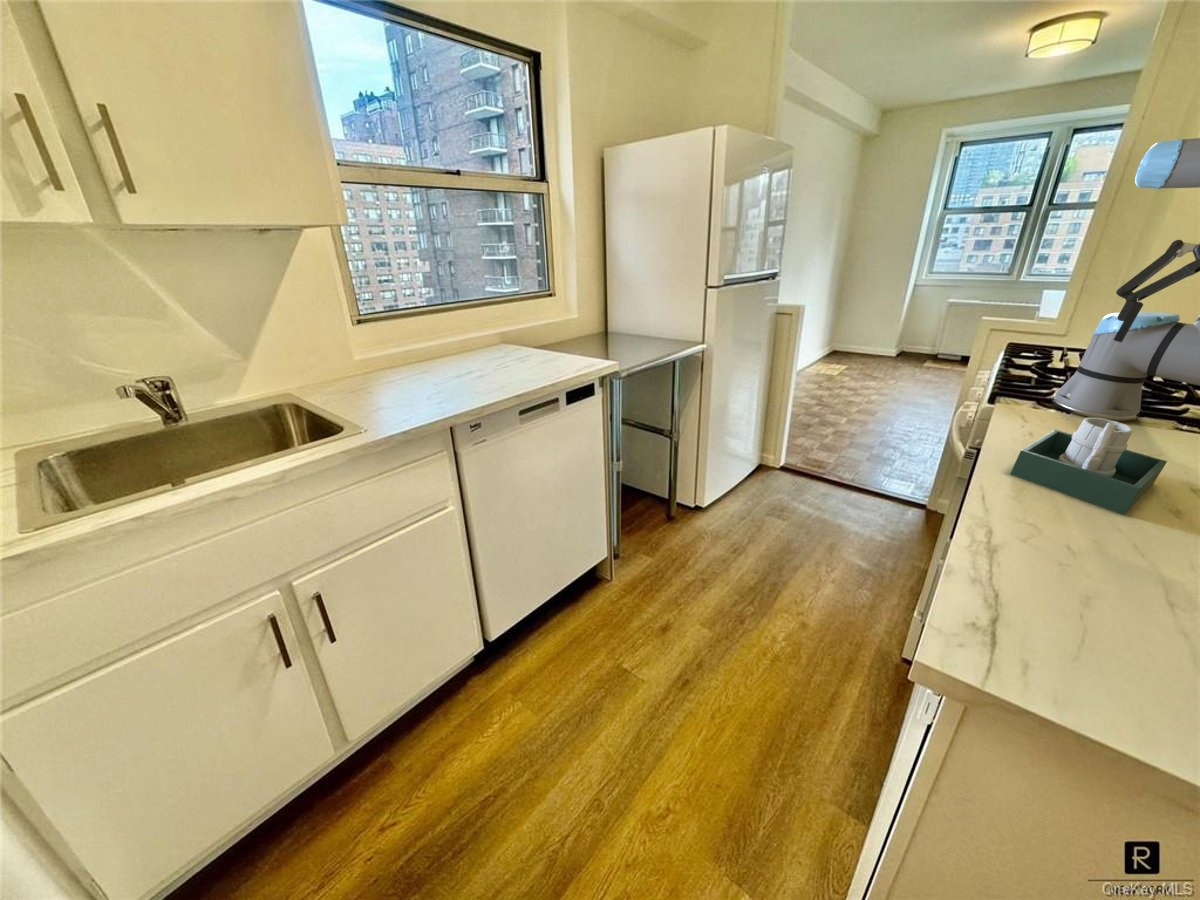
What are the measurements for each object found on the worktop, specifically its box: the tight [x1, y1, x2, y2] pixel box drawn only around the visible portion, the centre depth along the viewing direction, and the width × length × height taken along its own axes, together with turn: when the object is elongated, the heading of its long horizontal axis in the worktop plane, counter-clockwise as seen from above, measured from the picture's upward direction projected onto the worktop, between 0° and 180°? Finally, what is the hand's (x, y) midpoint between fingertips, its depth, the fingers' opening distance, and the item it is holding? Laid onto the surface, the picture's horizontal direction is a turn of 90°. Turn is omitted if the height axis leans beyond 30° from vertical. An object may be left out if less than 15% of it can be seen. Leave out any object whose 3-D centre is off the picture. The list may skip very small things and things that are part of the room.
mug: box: [1058, 417, 1134, 477], centre depth 84 cm, size 8×12×12 cm, turn 135°
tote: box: [1009, 429, 1168, 516], centre depth 86 cm, size 17×16×5 cm
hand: (1172, 350), depth 79 cm, fingers open, 13 cm apart
